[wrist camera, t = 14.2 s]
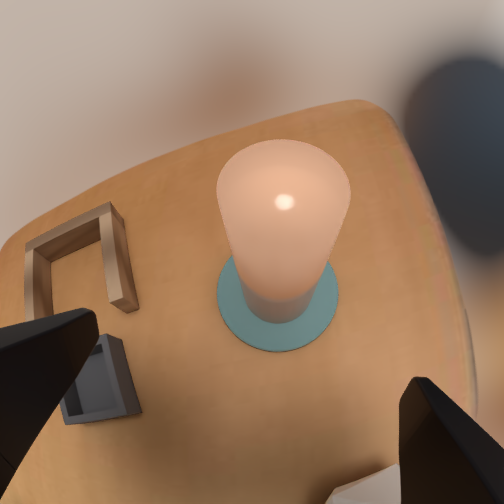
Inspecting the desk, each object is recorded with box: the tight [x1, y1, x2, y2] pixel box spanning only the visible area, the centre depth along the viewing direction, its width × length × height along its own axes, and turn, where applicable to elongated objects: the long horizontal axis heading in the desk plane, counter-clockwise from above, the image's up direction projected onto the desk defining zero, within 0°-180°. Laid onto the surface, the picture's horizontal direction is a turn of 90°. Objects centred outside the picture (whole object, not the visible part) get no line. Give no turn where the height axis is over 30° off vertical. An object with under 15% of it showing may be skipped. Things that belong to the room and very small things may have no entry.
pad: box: [217, 255, 338, 352], centre depth 22 cm, size 9×9×1 cm
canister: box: [217, 139, 350, 324], centre depth 16 cm, size 5×5×12 cm
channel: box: [24, 201, 139, 322], centre depth 22 cm, size 9×10×3 cm
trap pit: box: [60, 334, 142, 425], centre depth 18 cm, size 6×6×2 cm
